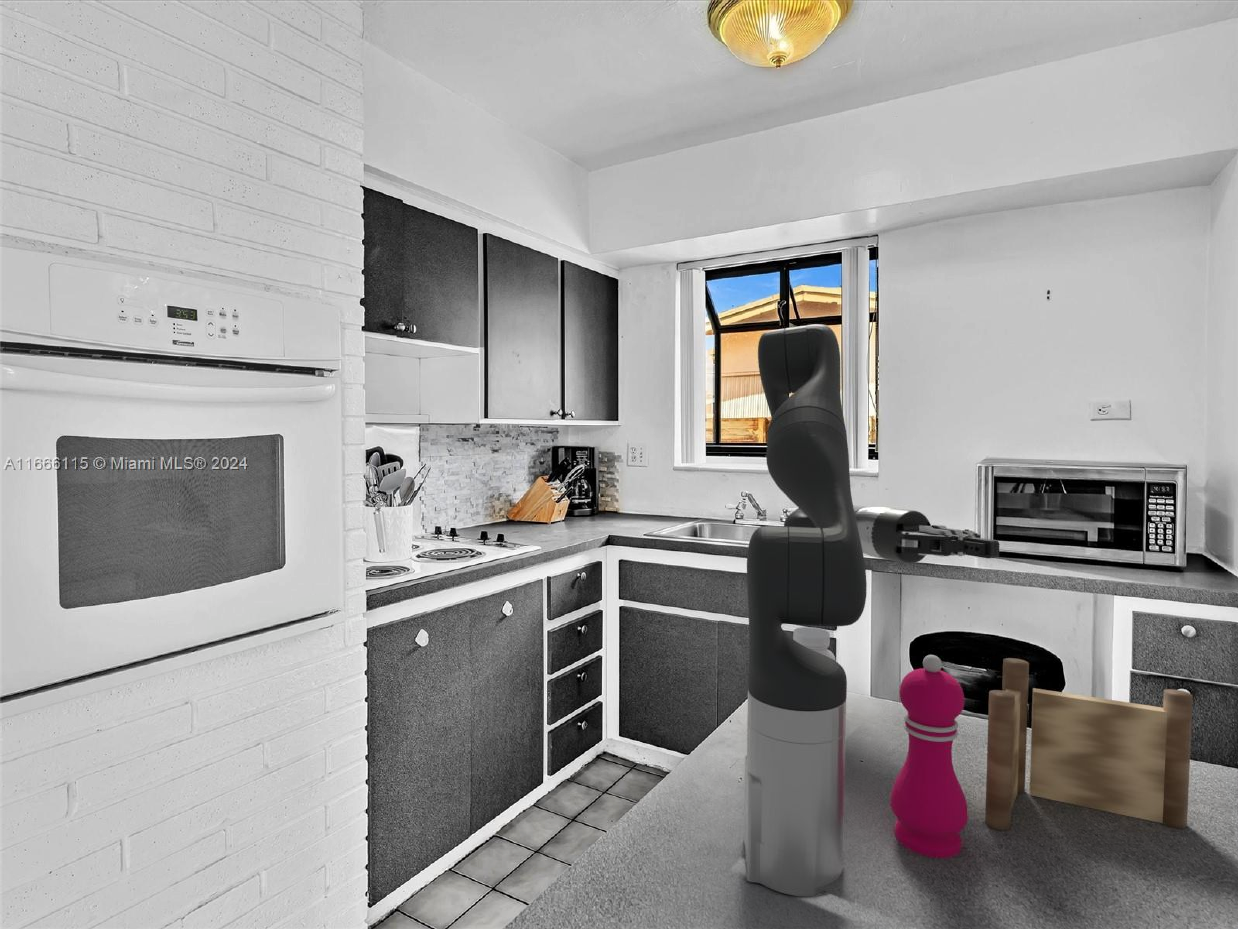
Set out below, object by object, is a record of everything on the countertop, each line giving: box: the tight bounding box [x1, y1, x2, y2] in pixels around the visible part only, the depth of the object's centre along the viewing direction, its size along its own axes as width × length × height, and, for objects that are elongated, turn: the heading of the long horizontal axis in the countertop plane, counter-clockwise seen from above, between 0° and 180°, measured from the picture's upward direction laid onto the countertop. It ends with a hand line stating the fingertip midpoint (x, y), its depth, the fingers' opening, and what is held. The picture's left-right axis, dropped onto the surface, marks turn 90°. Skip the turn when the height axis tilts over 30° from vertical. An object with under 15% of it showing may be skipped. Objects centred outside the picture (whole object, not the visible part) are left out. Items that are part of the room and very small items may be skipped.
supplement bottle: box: [792, 626, 836, 661], centre depth 106 cm, size 7×7×13 cm
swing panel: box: [1029, 687, 1194, 830], centre depth 78 cm, size 14×2×14 cm, turn 62°
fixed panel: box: [984, 657, 1030, 832], centre depth 79 cm, size 12×3×15 cm, turn 143°
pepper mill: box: [890, 654, 969, 859], centre depth 72 cm, size 7×7×20 cm
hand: (995, 549), depth 88 cm, fingers closed
